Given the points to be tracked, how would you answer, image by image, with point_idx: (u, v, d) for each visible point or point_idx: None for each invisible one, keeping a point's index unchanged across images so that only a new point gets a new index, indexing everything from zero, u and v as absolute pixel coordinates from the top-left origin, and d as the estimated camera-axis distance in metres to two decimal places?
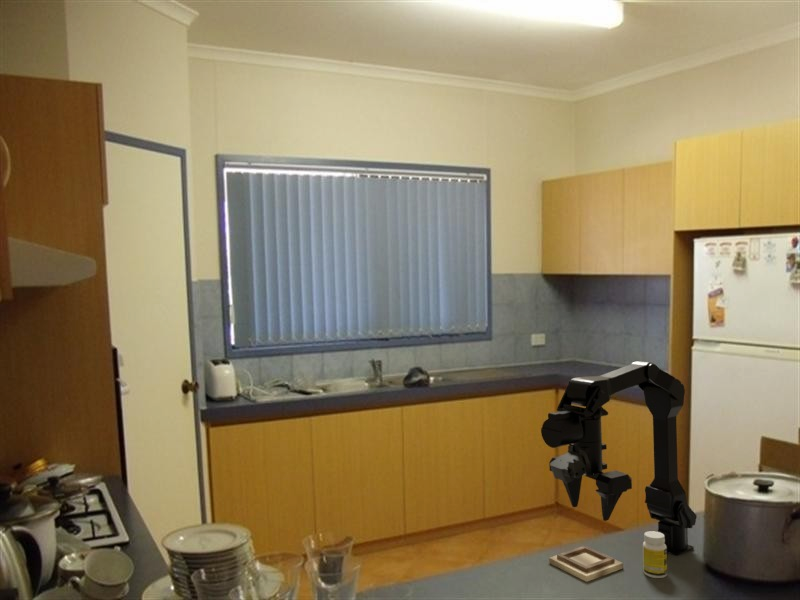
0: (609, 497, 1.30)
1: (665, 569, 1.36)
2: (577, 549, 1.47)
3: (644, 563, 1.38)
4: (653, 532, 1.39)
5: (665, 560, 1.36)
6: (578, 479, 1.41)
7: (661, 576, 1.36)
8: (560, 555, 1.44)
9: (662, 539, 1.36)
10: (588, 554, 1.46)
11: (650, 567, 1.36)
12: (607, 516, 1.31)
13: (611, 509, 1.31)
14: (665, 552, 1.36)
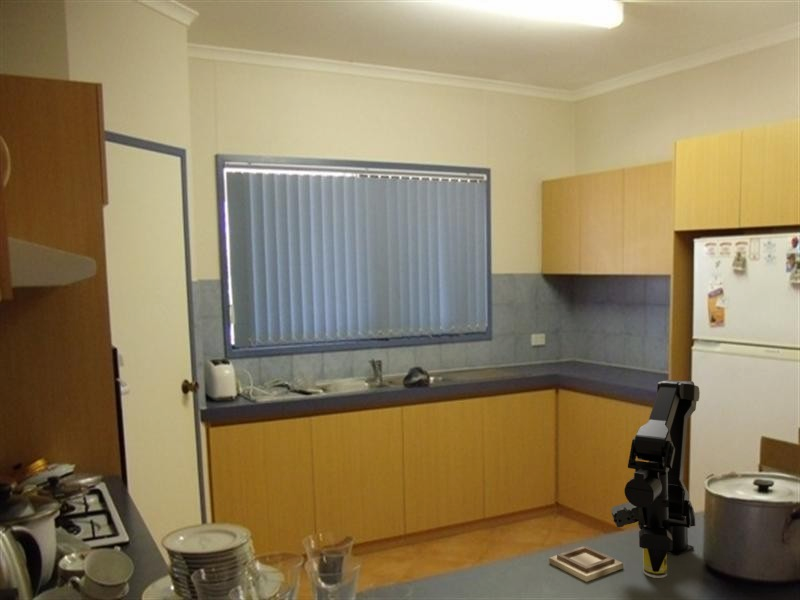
0: (655, 549, 1.34)
1: (665, 569, 1.36)
2: (577, 549, 1.47)
3: (644, 563, 1.38)
4: None
5: (665, 560, 1.36)
6: None
7: (661, 576, 1.36)
8: (560, 555, 1.44)
9: None
10: (588, 554, 1.46)
11: (650, 567, 1.36)
12: (655, 567, 1.35)
13: (659, 562, 1.34)
14: None
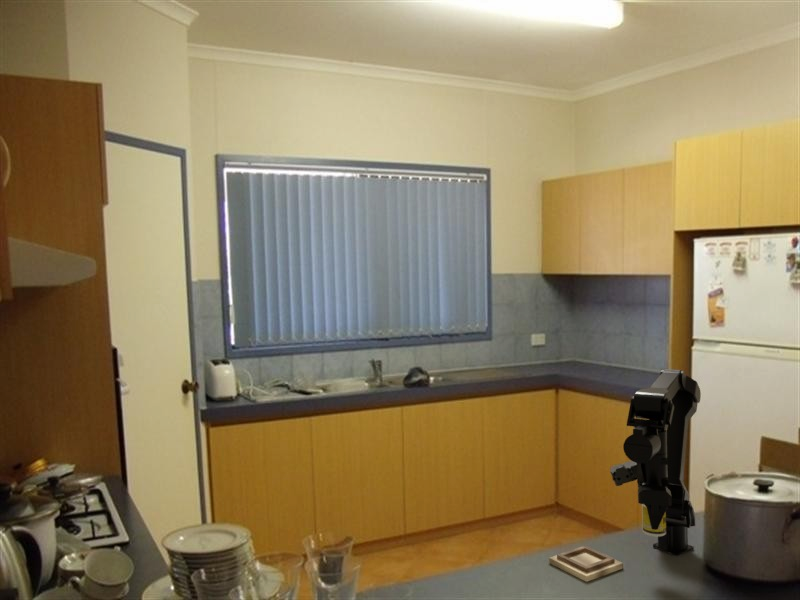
0: (654, 507, 1.34)
1: (664, 527, 1.36)
2: (577, 549, 1.47)
3: (643, 522, 1.37)
4: None
5: (664, 518, 1.36)
6: None
7: (660, 534, 1.35)
8: (560, 555, 1.44)
9: None
10: (588, 554, 1.46)
11: (649, 526, 1.36)
12: (654, 525, 1.35)
13: (658, 519, 1.34)
14: None
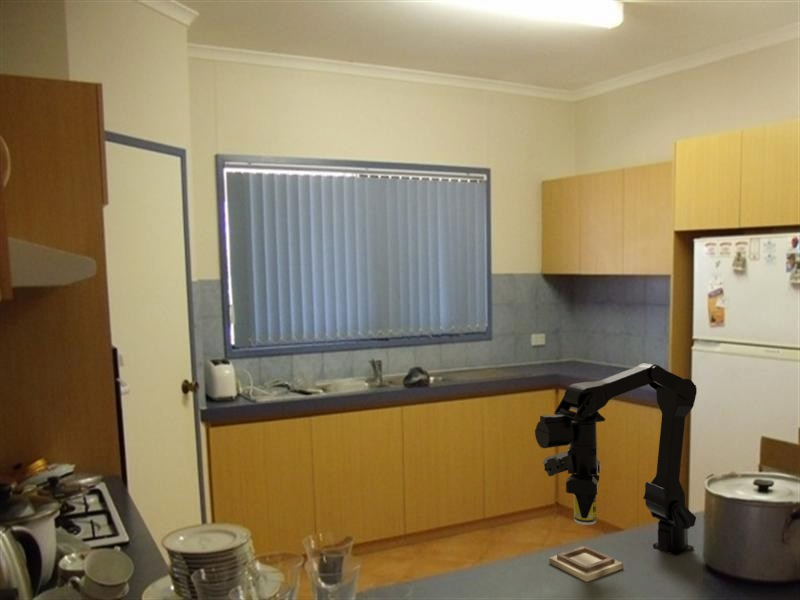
0: (583, 496, 1.39)
1: (594, 516, 1.41)
2: (577, 549, 1.47)
3: (574, 511, 1.42)
4: None
5: (593, 507, 1.41)
6: None
7: (590, 523, 1.40)
8: (560, 555, 1.44)
9: None
10: (588, 554, 1.46)
11: (579, 514, 1.41)
12: (584, 514, 1.40)
13: (587, 508, 1.39)
14: (594, 500, 1.41)
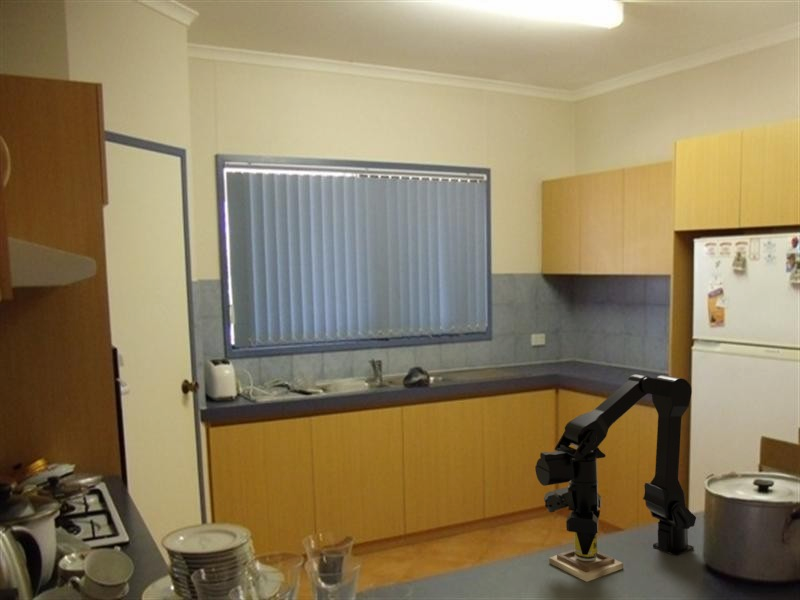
0: (583, 533, 1.39)
1: (594, 552, 1.41)
2: None
3: (575, 546, 1.42)
4: None
5: (594, 544, 1.41)
6: None
7: (590, 559, 1.41)
8: (560, 555, 1.44)
9: None
10: None
11: (580, 551, 1.41)
12: (584, 550, 1.40)
13: (587, 545, 1.39)
14: None
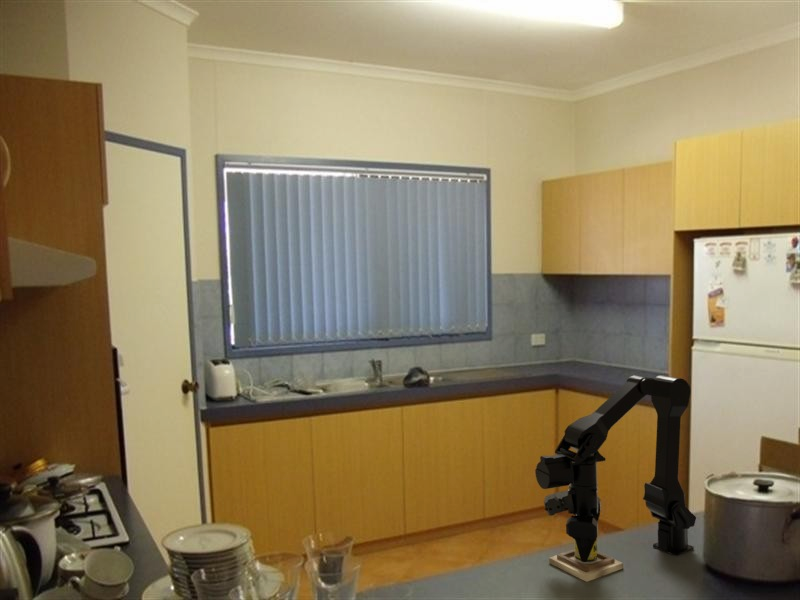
0: (583, 540, 1.37)
1: (594, 555, 1.41)
2: None
3: (575, 549, 1.42)
4: None
5: (594, 547, 1.41)
6: None
7: (590, 562, 1.41)
8: (560, 555, 1.44)
9: None
10: None
11: None
12: (583, 558, 1.38)
13: (587, 552, 1.37)
14: None
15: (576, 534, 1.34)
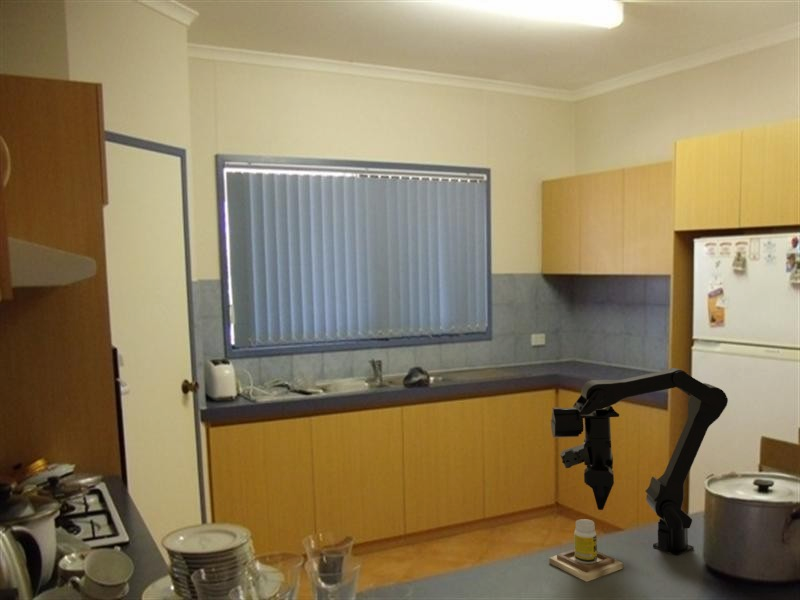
0: (599, 489, 1.45)
1: (594, 555, 1.41)
2: None
3: (575, 549, 1.42)
4: (584, 520, 1.44)
5: (594, 547, 1.41)
6: None
7: (590, 562, 1.41)
8: (560, 555, 1.44)
9: (592, 526, 1.41)
10: None
11: (580, 554, 1.41)
12: (600, 506, 1.46)
13: (603, 500, 1.46)
14: (594, 539, 1.41)
15: (594, 482, 1.42)
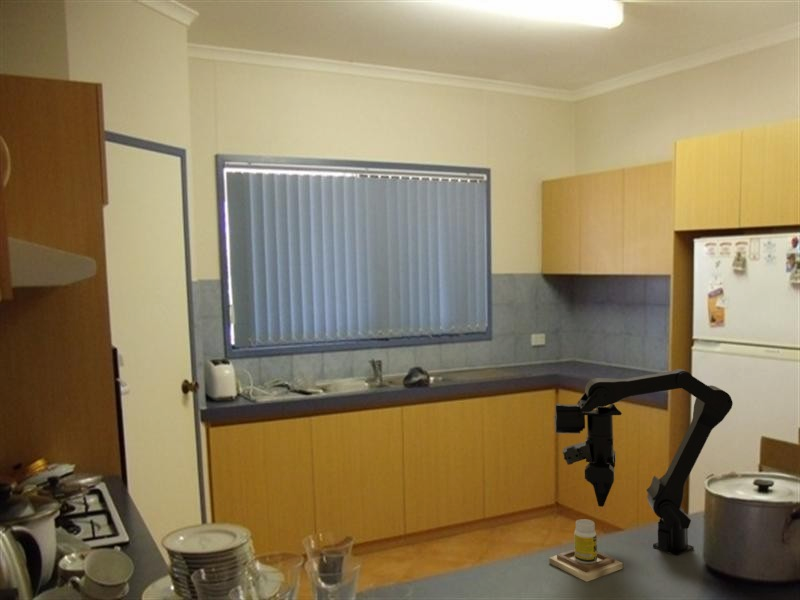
0: (600, 486, 1.47)
1: (594, 555, 1.41)
2: None
3: (575, 549, 1.42)
4: (584, 520, 1.44)
5: (594, 547, 1.41)
6: None
7: (590, 562, 1.41)
8: (560, 555, 1.44)
9: (592, 526, 1.41)
10: None
11: (580, 554, 1.41)
12: (600, 502, 1.48)
13: (603, 497, 1.47)
14: (594, 539, 1.41)
15: (594, 479, 1.44)
